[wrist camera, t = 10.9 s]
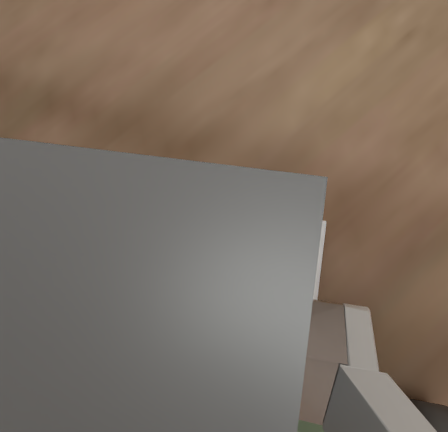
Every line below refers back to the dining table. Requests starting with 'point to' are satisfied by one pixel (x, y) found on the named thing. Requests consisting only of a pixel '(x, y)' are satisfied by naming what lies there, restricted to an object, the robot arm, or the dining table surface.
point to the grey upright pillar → (152, 292)
